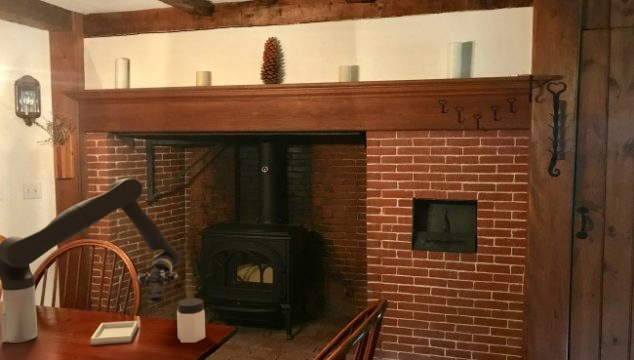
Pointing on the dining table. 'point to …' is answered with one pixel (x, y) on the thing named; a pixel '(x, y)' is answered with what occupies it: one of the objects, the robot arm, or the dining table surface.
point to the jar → (191, 320)
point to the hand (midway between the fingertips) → (154, 283)
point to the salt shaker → (155, 287)
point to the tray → (114, 332)
